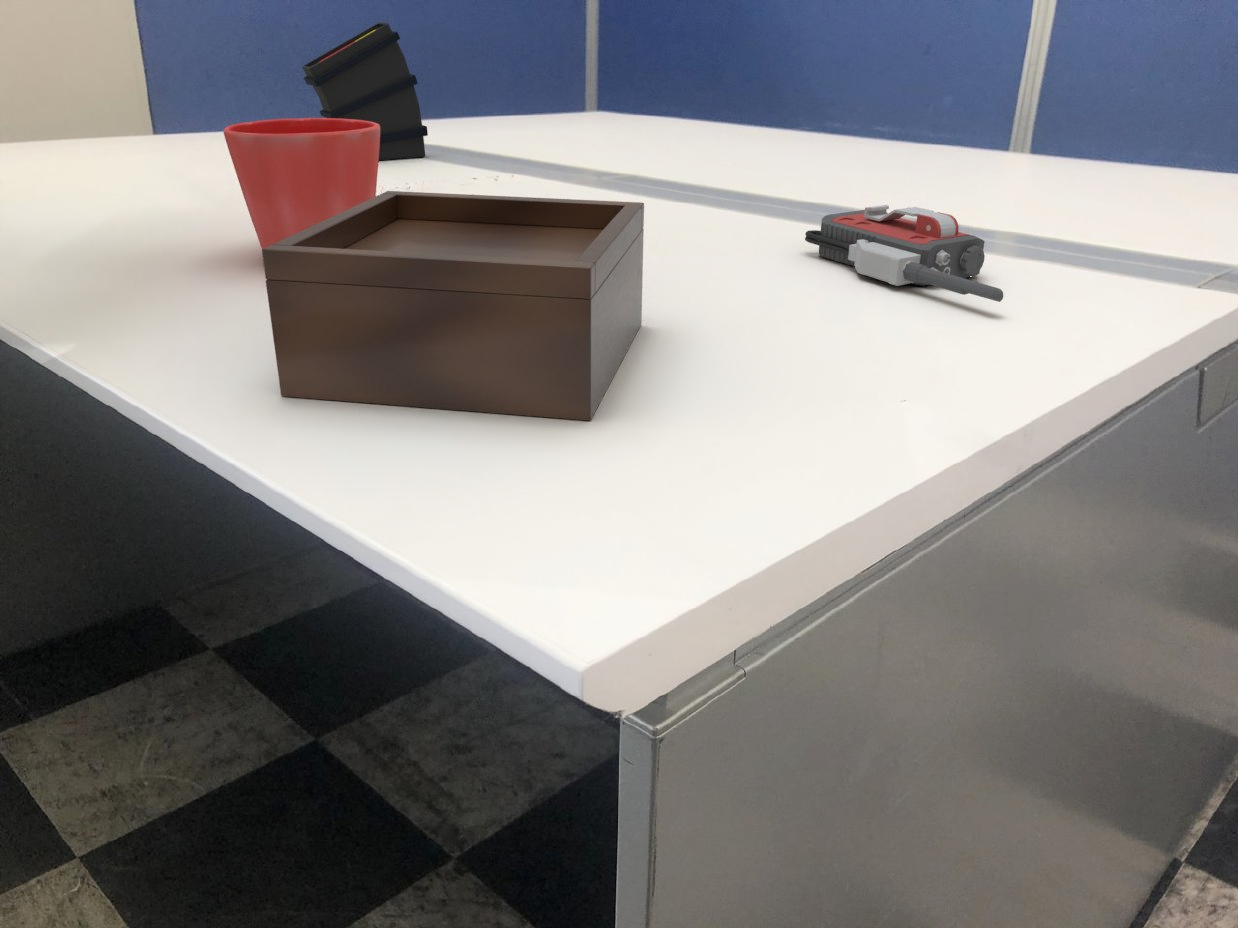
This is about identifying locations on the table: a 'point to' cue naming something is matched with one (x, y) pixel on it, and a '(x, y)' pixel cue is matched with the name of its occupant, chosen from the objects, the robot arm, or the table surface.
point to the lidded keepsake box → (459, 302)
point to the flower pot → (302, 170)
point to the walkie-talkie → (905, 248)
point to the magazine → (372, 89)
